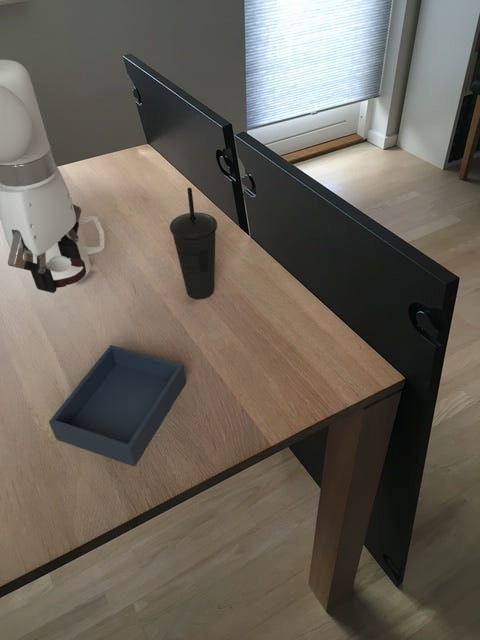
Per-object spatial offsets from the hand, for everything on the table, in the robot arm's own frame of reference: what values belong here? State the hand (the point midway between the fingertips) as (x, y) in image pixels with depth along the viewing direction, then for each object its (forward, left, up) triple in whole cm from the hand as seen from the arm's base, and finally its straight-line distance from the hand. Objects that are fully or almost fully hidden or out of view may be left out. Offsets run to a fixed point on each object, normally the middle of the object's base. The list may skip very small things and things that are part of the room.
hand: (60, 276), depth 82 cm
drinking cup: (+16, -15, -11) cm, 25 cm away
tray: (-12, -16, -11) cm, 23 cm away
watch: (0, 0, -1) cm, 1 cm away
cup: (+15, +10, -11) cm, 21 cm away
